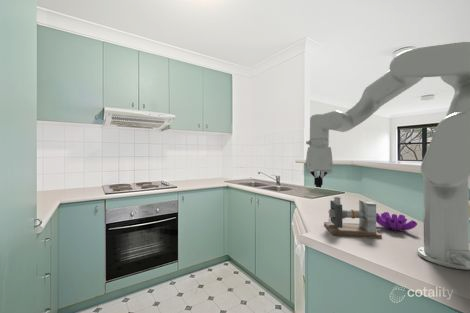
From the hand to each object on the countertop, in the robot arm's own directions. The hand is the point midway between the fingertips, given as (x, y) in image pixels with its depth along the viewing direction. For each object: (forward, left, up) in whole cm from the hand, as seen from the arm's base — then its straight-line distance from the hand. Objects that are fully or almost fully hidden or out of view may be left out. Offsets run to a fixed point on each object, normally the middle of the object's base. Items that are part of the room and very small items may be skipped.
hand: (318, 186), depth 90 cm
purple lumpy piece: (+6, -31, -18) cm, 36 cm away
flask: (+22, -14, -18) cm, 32 cm away
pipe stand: (0, -12, -18) cm, 22 cm away
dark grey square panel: (0, -7, -15) cm, 17 cm away
